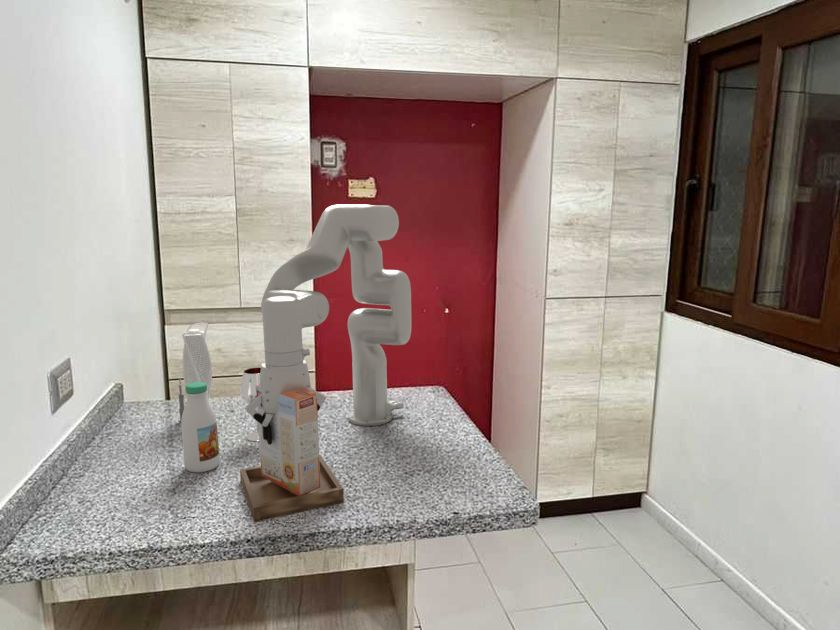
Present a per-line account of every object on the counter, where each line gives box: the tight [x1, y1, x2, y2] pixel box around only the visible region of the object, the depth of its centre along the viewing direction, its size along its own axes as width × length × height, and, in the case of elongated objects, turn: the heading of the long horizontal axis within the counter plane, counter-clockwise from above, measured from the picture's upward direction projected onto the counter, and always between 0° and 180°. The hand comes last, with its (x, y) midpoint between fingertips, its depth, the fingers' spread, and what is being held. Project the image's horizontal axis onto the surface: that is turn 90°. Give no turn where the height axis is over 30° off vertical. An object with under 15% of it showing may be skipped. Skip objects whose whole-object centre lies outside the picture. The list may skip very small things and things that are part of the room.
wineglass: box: [239, 367, 261, 442], centre depth 153 cm, size 8×8×18 cm
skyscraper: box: [178, 321, 213, 423], centre depth 164 cm, size 8×8×28 cm
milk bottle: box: [180, 382, 221, 473], centre depth 136 cm, size 8×8×20 cm
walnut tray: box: [239, 454, 345, 523], centre depth 126 cm, size 18×18×3 cm
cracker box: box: [256, 384, 320, 496], centre depth 124 cm, size 14×6×21 cm, turn 47°
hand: (288, 438), depth 124 cm, fingers closed on cracker box, 7 cm apart
